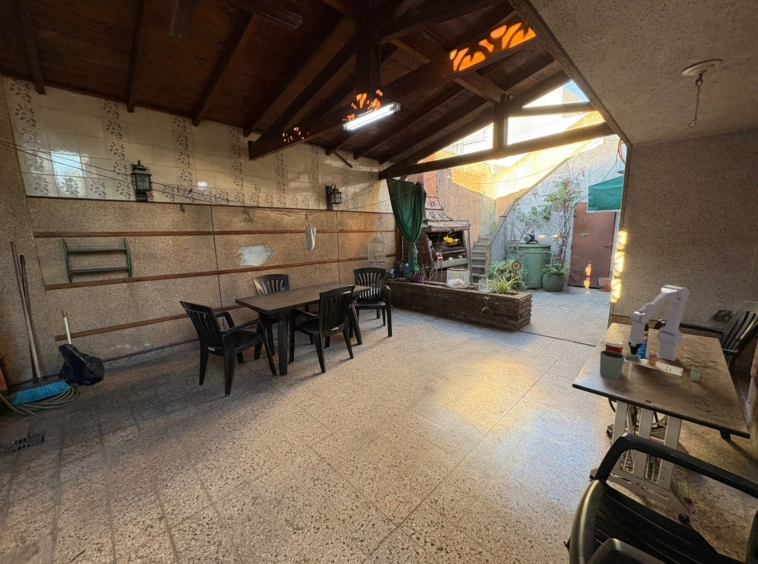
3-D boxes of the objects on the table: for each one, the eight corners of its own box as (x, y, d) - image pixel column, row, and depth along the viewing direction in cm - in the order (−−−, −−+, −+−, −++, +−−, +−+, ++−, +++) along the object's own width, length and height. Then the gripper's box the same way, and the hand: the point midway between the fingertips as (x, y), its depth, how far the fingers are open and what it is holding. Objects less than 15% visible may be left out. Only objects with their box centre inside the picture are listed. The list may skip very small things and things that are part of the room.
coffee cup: (624, 371, 158) (628, 345, 155) (607, 369, 160) (610, 344, 157) (615, 364, 166) (618, 339, 163) (598, 362, 168) (602, 338, 165)
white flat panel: (626, 355, 177) (627, 354, 176) (683, 369, 159) (683, 368, 159) (622, 361, 169) (622, 360, 169) (681, 376, 151) (681, 375, 151)
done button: (629, 355, 172) (630, 352, 172) (637, 357, 170) (638, 354, 169) (628, 357, 170) (628, 354, 170) (636, 359, 167) (636, 356, 167)
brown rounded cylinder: (656, 364, 163) (657, 354, 162) (655, 366, 161) (657, 356, 160) (648, 362, 166) (649, 352, 165) (647, 364, 164) (649, 354, 163)
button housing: (627, 356, 174) (627, 352, 174) (640, 359, 170) (640, 355, 169) (625, 359, 170) (625, 355, 170) (638, 362, 166) (639, 358, 165)
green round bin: (611, 381, 148) (615, 359, 146) (592, 371, 157) (595, 351, 155) (626, 378, 150) (629, 356, 148) (606, 369, 160) (609, 349, 158)
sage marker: (689, 377, 150) (691, 366, 149) (699, 380, 148) (701, 369, 147) (689, 379, 148) (691, 369, 147) (698, 382, 146) (701, 371, 145)
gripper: (630, 327, 174) (627, 348, 177) (625, 333, 165) (622, 355, 168) (646, 330, 169) (642, 352, 172) (641, 337, 160) (638, 359, 162)
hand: (633, 354), depth 169 cm, fingers closed, pressing on done button
